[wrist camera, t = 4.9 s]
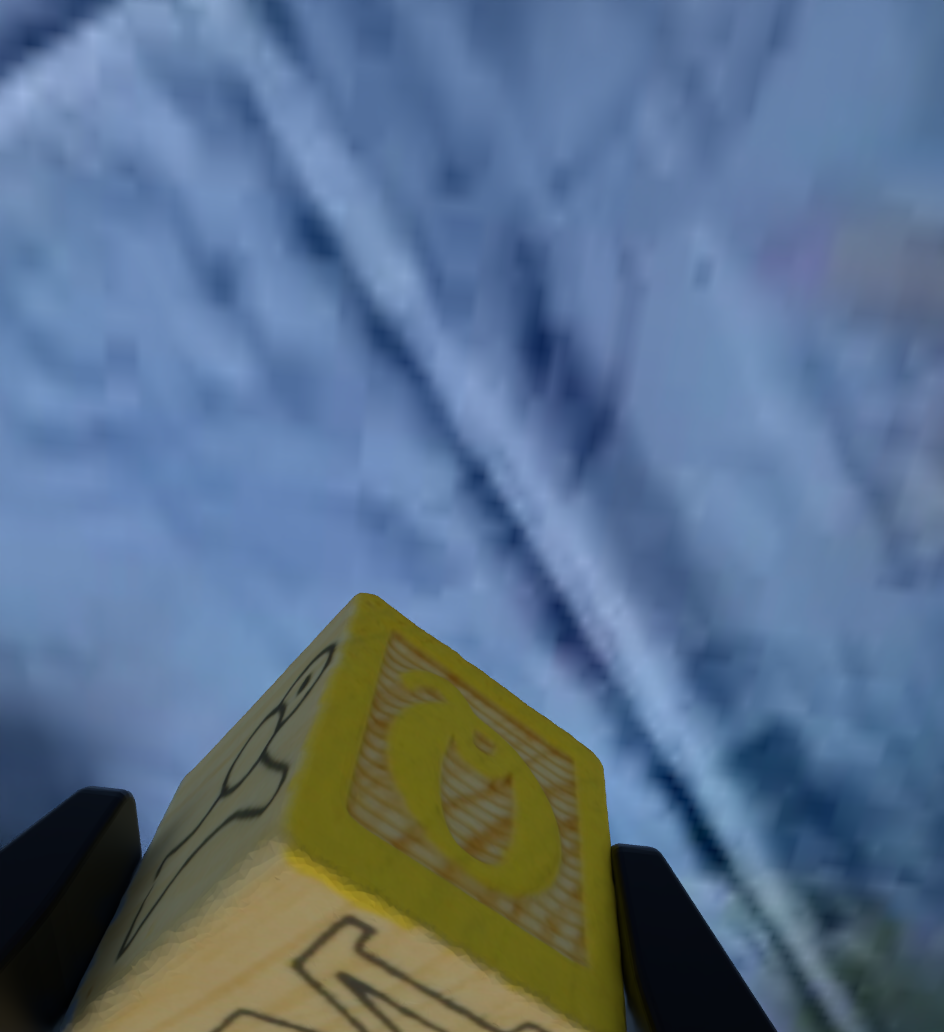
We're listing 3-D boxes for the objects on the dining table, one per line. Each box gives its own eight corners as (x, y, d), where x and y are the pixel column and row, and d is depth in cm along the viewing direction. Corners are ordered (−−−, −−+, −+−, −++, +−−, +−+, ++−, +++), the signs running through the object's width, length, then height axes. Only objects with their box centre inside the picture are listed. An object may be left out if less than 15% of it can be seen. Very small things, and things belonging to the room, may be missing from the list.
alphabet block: (179, 765, 9) (32, 1068, 6) (357, 572, 8) (272, 849, 5) (413, 904, 10) (370, 1226, 7) (609, 749, 9) (645, 1067, 6)
